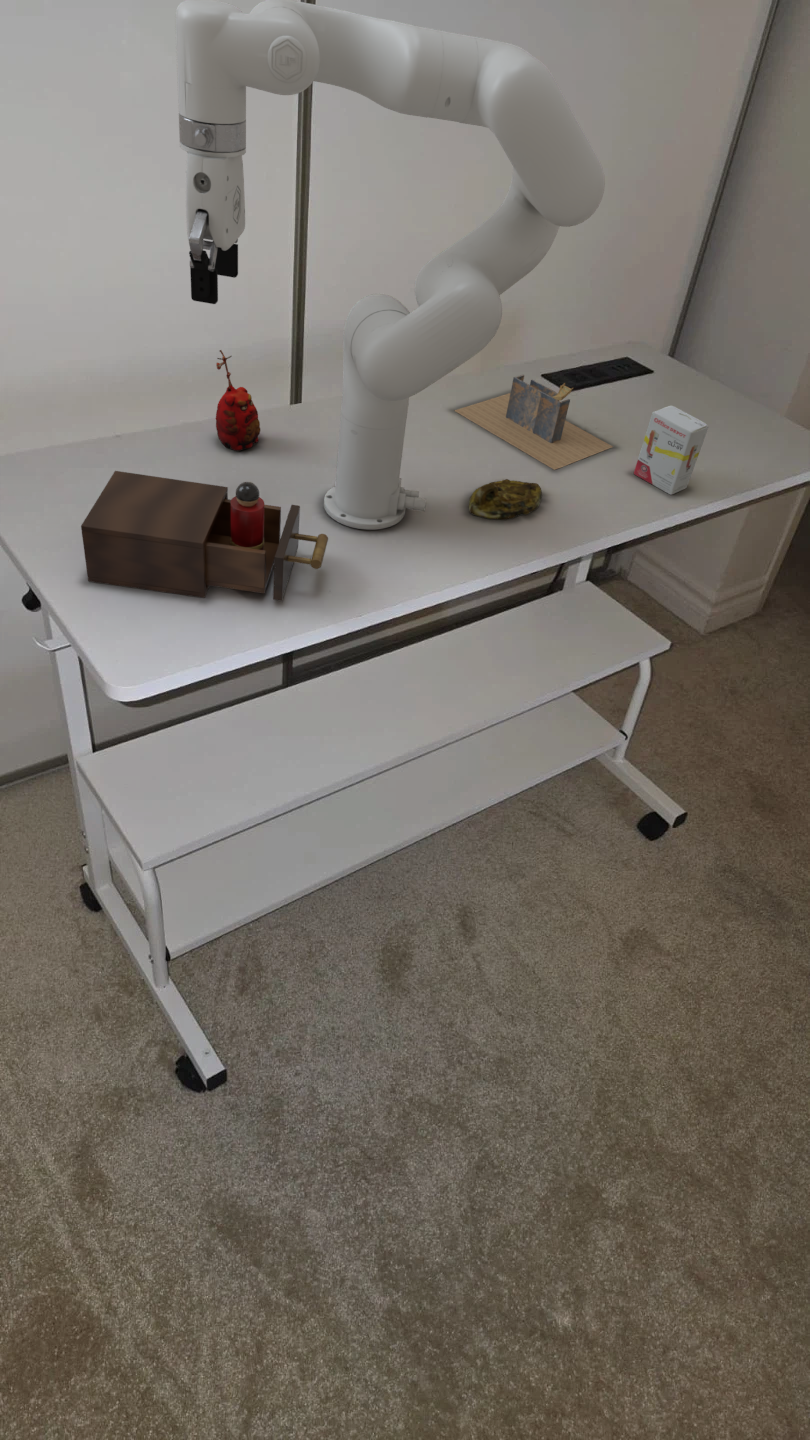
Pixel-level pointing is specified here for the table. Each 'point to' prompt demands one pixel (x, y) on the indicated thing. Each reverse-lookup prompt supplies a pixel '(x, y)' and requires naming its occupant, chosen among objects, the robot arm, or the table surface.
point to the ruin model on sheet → (535, 423)
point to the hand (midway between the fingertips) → (215, 288)
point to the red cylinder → (247, 517)
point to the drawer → (258, 553)
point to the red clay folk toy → (236, 416)
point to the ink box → (670, 449)
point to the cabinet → (151, 533)
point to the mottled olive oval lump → (505, 499)
